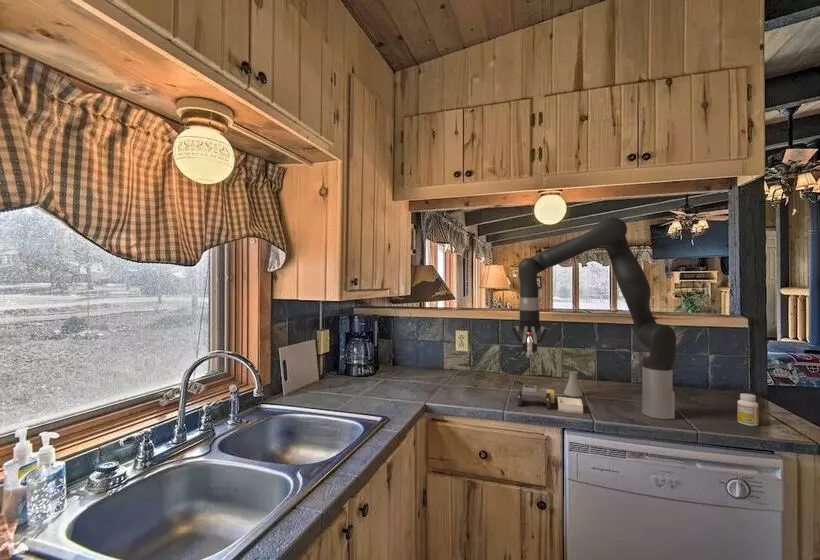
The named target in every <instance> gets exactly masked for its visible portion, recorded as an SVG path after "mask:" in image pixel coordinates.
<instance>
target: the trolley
mask: <svg viewBox="0 0 820 560" xmlns="http://www.w3.org/2000/svg"><path fill="white" fill-rule="evenodd" d="M545 389H546V388H537V385H535V384H523V387H522V389H521V390H520V389H519V390H518V392H517V406H523V395H525V396H526V395H527V396H537V397H541V396H545V397H546V403H545V404H546V409H549V410H551V404H552V403H551V399H550V393H546V390H545Z"/></svg>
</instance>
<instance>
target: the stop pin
mask: <svg viewBox="0 0 820 560" xmlns="http://www.w3.org/2000/svg"><path fill="white" fill-rule="evenodd" d="M533 343H534V340H533V335H532V332H527V336H526V353H525V357H526V358H528V359H533V358H534V354H535V353H533Z"/></svg>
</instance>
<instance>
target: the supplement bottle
mask: <svg viewBox="0 0 820 560" xmlns="http://www.w3.org/2000/svg"><path fill="white" fill-rule="evenodd" d="M739 398H740V399H738V400H737V402H736V403H737V414H736V415H737V417H736V418H737V423H740V424H742V425H746V426H751V427H756V426H757V427H758V426H759V423H760V422H759V412H760V411H759V403H758V402H757V401H756V398H757V397H756V395H755V394H751V393H739Z"/></svg>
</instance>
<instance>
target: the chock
mask: <svg viewBox="0 0 820 560" xmlns="http://www.w3.org/2000/svg"><path fill="white" fill-rule="evenodd" d="M544 389H545V390H546V393H550V399H551V404H552V403H553V405H554V404H555V389H549V388H548V389H547V388H544ZM543 402H544V404H546V397H545V396H540V403H543Z"/></svg>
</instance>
